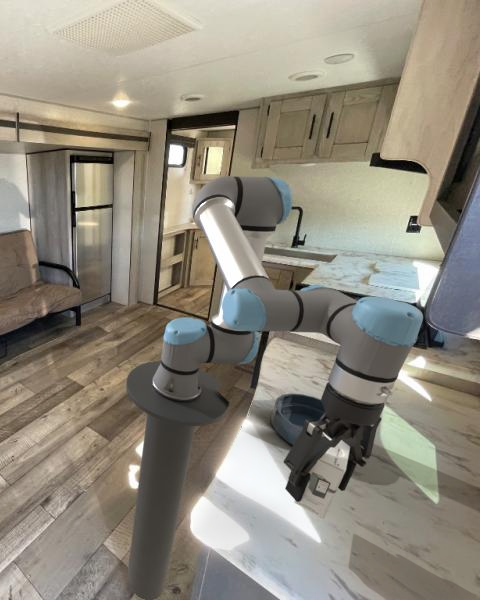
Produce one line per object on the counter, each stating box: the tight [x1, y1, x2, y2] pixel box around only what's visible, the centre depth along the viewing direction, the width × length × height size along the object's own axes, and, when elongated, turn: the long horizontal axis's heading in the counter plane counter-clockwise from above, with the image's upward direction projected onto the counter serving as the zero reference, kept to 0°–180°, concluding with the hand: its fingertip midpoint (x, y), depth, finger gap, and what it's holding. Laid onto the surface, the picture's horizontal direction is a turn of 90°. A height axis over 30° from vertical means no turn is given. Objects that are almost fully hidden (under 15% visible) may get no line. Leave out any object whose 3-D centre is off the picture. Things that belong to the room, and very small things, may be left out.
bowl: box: [270, 392, 325, 446], centre depth 84 cm, size 18×18×6 cm
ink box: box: [293, 432, 350, 520], centre depth 59 cm, size 9×5×12 cm, turn 137°
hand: (314, 489), depth 60 cm, fingers closed on ink box, 9 cm apart
